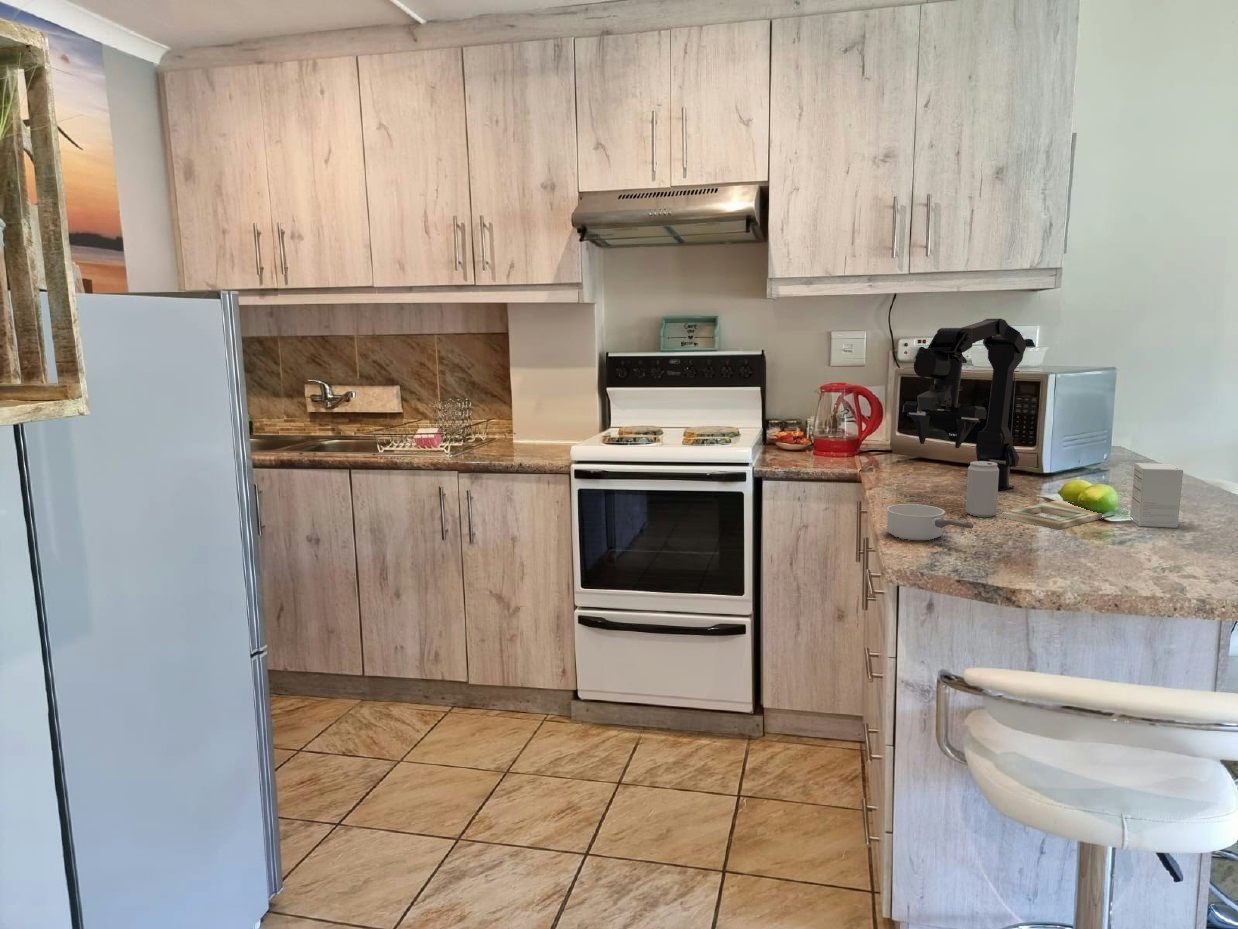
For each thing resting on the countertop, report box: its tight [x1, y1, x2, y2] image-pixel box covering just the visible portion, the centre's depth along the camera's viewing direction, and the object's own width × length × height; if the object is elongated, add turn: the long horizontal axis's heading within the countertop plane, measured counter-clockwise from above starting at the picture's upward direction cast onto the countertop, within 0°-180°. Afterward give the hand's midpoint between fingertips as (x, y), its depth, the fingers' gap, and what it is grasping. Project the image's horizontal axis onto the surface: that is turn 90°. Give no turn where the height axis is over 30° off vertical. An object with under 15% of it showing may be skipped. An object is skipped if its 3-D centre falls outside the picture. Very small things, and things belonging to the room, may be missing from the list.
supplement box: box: [1129, 462, 1184, 529], centre depth 175 cm, size 7×7×13 cm
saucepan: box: [885, 503, 974, 541], centre depth 165 cm, size 12×20×6 cm, turn 25°
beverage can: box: [965, 460, 999, 518], centre depth 185 cm, size 6×6×12 cm
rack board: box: [1001, 499, 1102, 530], centre depth 183 cm, size 22×13×1 cm, turn 122°
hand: (939, 446), depth 196 cm, fingers open, 9 cm apart
